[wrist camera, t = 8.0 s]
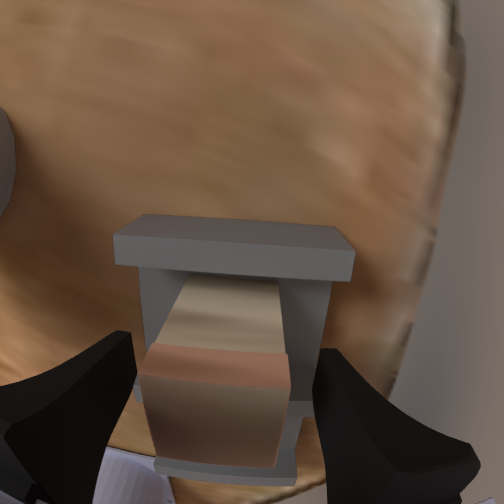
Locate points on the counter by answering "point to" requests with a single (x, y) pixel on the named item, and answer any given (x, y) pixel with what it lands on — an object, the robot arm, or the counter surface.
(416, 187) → the counter surface
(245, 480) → the gray i-beam stand
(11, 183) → the cup
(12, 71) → the counter surface
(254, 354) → the peg
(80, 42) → the counter surface
